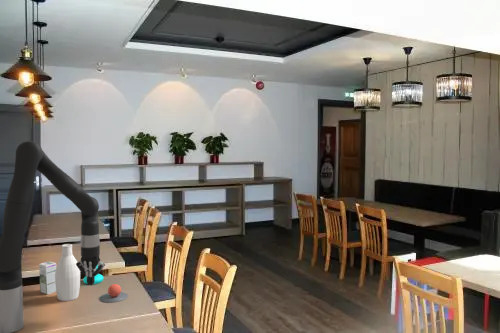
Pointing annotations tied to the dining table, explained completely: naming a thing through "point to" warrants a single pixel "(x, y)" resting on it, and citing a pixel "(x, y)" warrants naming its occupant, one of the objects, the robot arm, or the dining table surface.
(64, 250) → the bottle
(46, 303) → the dining table surface
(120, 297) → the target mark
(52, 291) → the syrup box
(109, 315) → the dining table surface
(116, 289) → the ball
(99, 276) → the donuts
